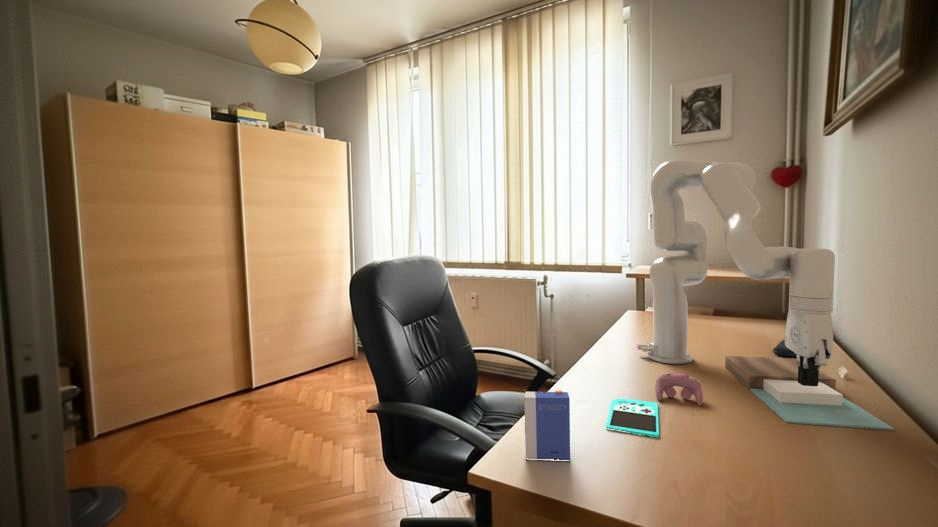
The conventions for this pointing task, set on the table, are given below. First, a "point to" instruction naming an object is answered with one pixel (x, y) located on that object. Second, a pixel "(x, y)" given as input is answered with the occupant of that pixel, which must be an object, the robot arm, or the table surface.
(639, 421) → the handheld game console
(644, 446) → the table surface
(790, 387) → the box
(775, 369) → the brown wooden flat block
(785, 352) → the carrying case or bag
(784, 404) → the mat
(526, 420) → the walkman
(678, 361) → the robot arm
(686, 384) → the video game controller
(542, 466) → the table surface
